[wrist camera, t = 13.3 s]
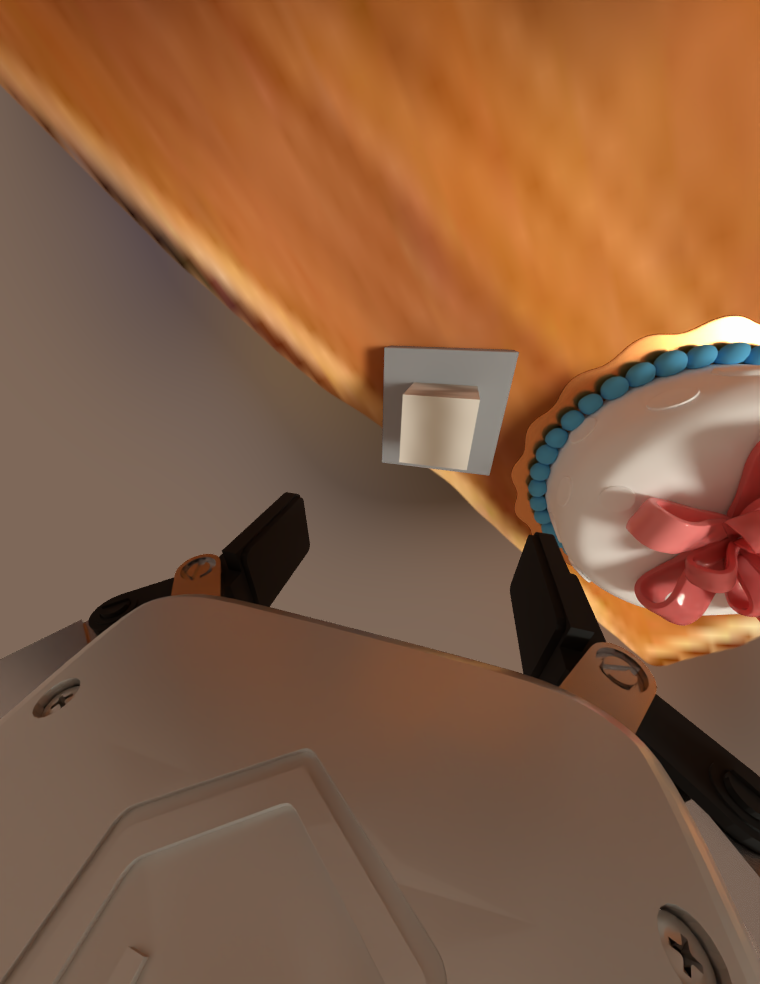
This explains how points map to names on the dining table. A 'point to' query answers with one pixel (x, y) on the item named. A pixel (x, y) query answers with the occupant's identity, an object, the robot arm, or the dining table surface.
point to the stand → (456, 368)
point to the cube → (438, 424)
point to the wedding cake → (657, 472)
